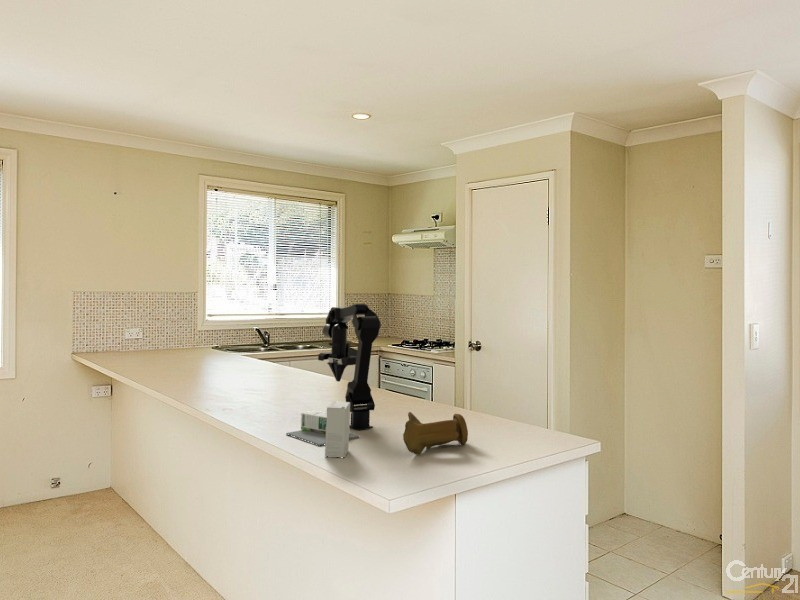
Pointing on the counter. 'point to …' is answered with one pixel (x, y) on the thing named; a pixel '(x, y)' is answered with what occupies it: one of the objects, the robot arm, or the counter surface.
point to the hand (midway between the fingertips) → (338, 381)
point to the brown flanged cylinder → (433, 433)
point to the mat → (315, 436)
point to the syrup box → (314, 421)
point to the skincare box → (337, 429)
